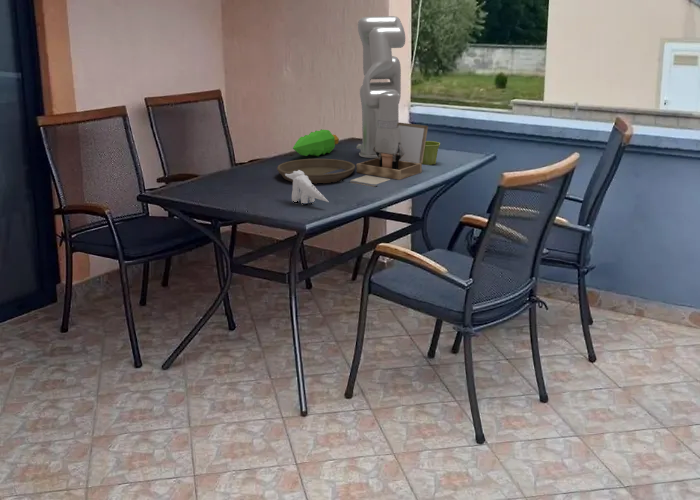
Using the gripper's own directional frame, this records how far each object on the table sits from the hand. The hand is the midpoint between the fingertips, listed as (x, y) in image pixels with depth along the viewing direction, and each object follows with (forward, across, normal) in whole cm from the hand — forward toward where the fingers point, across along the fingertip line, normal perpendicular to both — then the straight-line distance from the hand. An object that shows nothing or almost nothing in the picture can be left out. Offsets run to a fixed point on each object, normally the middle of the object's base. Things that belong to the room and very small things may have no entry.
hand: (388, 169), depth 348 cm
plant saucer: (+3, -22, -18) cm, 29 cm away
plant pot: (+2, +2, +26) cm, 26 cm away
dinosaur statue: (+3, +2, -52) cm, 52 cm away
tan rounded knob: (+1, 0, 0) cm, 1 cm away
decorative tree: (+2, -48, +10) cm, 50 cm away
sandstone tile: (+2, +2, -14) cm, 14 cm away
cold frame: (+2, 0, 0) cm, 2 cm away
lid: (-10, 0, +9) cm, 13 cm away
